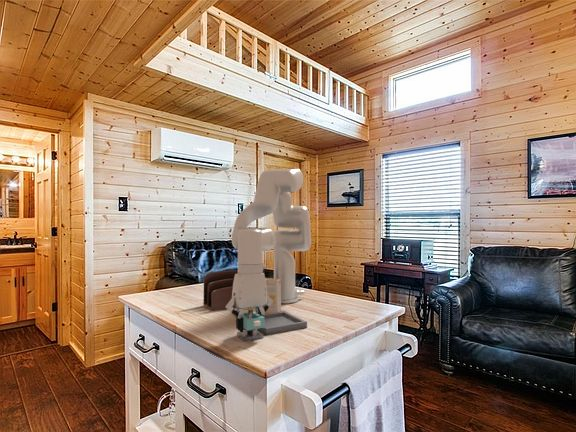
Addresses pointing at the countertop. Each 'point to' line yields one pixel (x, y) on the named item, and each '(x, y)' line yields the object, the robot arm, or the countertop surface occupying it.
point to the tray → (281, 323)
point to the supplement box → (274, 294)
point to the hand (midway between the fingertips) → (249, 328)
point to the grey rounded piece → (249, 334)
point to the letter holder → (218, 289)
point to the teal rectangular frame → (253, 321)
